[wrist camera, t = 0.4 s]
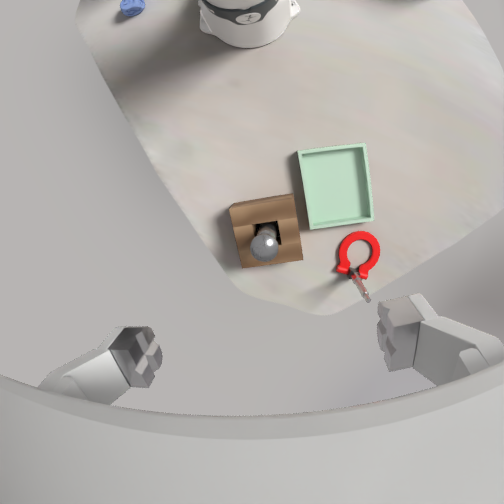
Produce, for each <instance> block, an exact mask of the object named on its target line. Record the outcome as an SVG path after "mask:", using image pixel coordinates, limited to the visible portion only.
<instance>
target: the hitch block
mask: <svg viewBox="0 0 504 504" xmlns="http://www.w3.org/2000/svg"><path fill="white" fill-rule="evenodd" d="M229 212H230V216H231V221H232V225H233V230H234V234H235V239H236V243H237V248H238V252H239V256H240V261H241V265H242V268H249V267H256V266H263V265H271V264H278V263H285V262H292V261H299V260H303V254H302V247H301V240H300V233H299V227H298V220H297V214H296V208H295V201H294V196H293V193H292V194H285V195H279V196H273V197H267V198H261V199H255V200H249V201H243V202H238V203H234V204H233V205H232V206H231V207H230V208H229ZM271 221H278V226H279V231H280V236H279V237H276V240H277V242H278V253H277V255H276V257H275V258H274V259H272V260H271V261H268V262H262V261H258V260H257V259H255V258H254V257H253V256H252V254H251V251H250V245H251V242H252V240H253V239H254V237H256V236H257V234H258V231H257V226H256V224H258V223H265V222H271Z"/></svg>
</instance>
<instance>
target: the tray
mask: <svg viewBox="0 0 504 504" xmlns="http://www.w3.org/2000/svg"><path fill="white" fill-rule="evenodd" d="M297 154H298V159H299V165H300V171H301V176H302V182H303V188H304V195H305V201H306V208H307V214H308V221H309V227H310V230H312V229H319V228H325V227H332V226H339V225H346V224H354V223H361V222H368V221H374V210H373V199H372V189H371V180H370V171H369V164H368V156H367V149H366V143H357V144H347V145H338V146H329V147H321V148H314V149H307V150H300V151H297Z"/></svg>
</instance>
